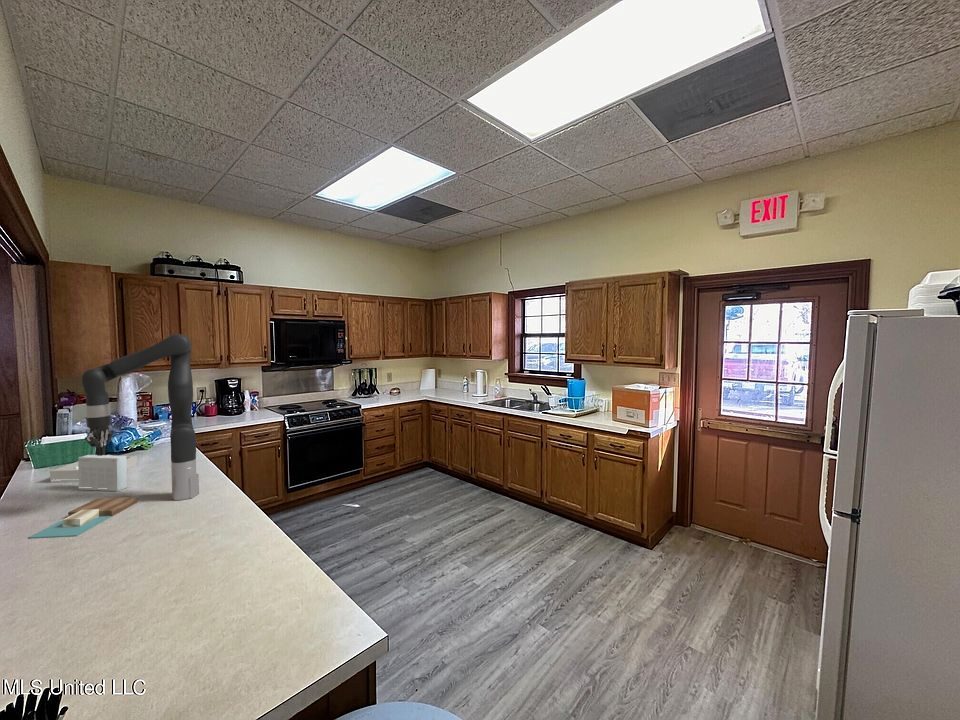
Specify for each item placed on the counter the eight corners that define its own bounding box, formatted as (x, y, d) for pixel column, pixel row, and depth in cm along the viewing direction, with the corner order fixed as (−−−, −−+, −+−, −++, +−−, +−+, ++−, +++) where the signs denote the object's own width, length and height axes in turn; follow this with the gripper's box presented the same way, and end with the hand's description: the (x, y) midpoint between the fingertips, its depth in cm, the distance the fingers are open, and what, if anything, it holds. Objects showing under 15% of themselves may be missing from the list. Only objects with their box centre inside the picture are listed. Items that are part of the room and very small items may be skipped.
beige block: (99, 516, 163) (98, 509, 163) (80, 526, 154) (79, 518, 154) (82, 516, 163) (82, 509, 162) (62, 527, 154) (62, 519, 153)
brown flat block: (136, 502, 178) (136, 497, 178) (112, 516, 164) (111, 510, 164) (96, 504, 176) (96, 498, 176) (68, 518, 162) (68, 512, 162)
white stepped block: (137, 466, 228) (137, 455, 228) (103, 481, 204) (102, 469, 204) (90, 467, 225) (90, 457, 225) (50, 482, 201) (49, 471, 201)
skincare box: (128, 487, 196) (127, 455, 195) (117, 491, 190) (116, 458, 190) (89, 485, 198) (88, 454, 197) (77, 489, 193) (76, 457, 192)
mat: (111, 517, 164) (111, 516, 164) (76, 536, 148) (76, 535, 148) (67, 518, 162) (67, 517, 162) (27, 538, 146) (27, 537, 146)
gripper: (96, 418, 163) (98, 459, 164) (120, 411, 176) (122, 450, 177) (75, 418, 162) (78, 460, 163) (100, 412, 175) (103, 451, 176)
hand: (101, 455), depth 170 cm, fingers closed
